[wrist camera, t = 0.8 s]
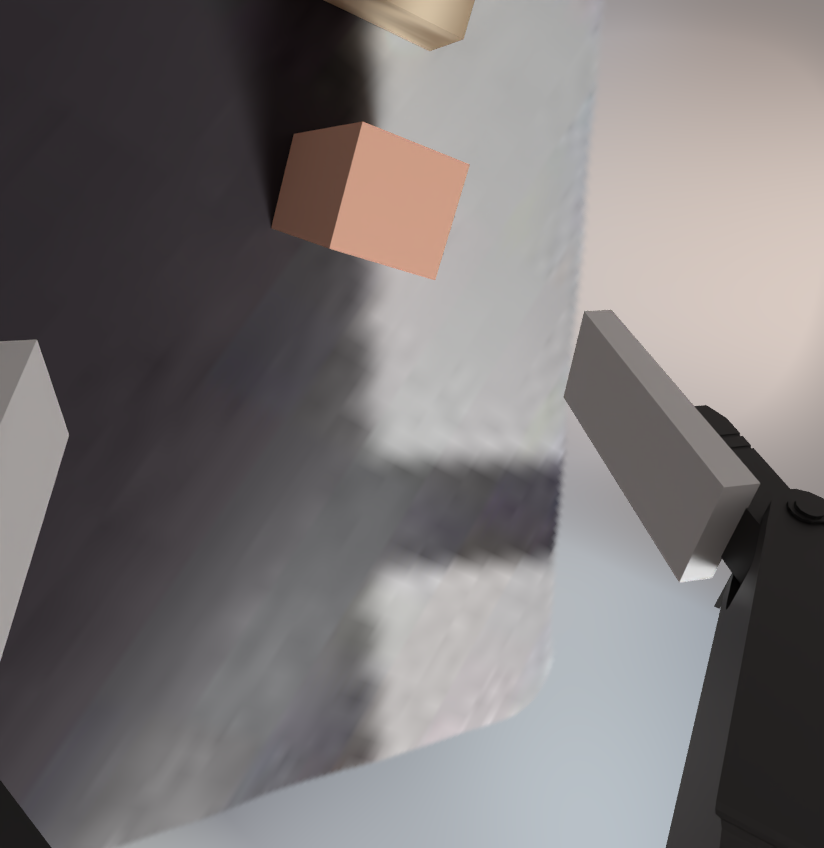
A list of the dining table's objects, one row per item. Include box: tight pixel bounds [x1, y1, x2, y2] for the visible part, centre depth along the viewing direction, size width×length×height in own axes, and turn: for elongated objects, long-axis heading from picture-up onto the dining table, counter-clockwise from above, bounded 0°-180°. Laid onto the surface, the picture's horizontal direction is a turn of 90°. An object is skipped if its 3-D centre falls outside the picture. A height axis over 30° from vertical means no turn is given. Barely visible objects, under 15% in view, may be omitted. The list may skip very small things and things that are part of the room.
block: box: [271, 122, 469, 280], centre depth 33 cm, size 5×5×11 cm
